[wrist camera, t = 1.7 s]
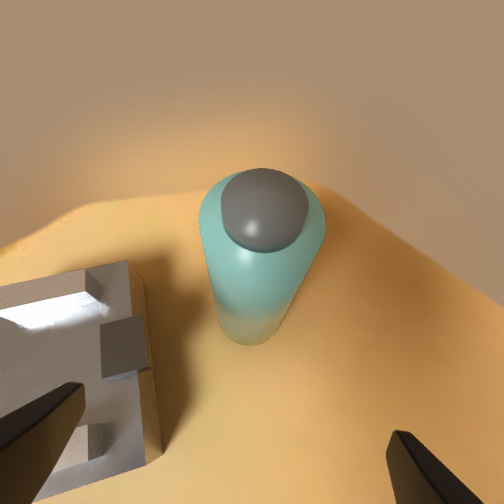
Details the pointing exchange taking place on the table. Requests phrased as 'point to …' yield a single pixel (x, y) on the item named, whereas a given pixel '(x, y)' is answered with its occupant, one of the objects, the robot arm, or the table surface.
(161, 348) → the table surface
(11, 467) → the robot arm
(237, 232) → the bottle
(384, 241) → the table surface
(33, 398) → the block
